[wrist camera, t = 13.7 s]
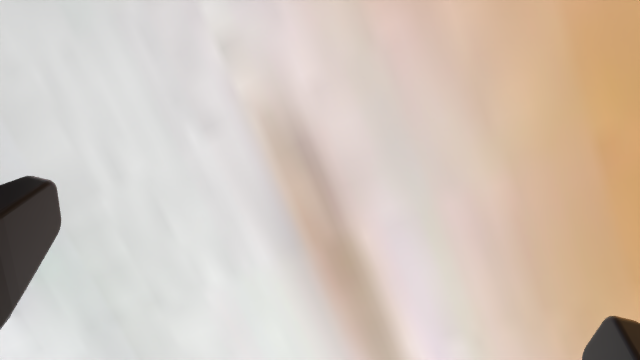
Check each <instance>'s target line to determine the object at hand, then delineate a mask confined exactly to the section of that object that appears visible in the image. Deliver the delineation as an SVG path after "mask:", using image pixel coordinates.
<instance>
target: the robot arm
mask: <svg viewBox="0 0 640 360" xmlns="http://www.w3.org/2000/svg"><path fill="white" fill-rule="evenodd" d="M60 226H61V214H60V207H59V200H58V193H57V187H56V185H55V183H54V182H52V181H51V180H47V179H43V178H39V177H35V176H25V177H22V178H19V179H16V180H14V181H11V182H8V183H5V184H2V185H0V328H1V327H2V326H3V324H4V323H5V321H6V320H7V319H8V317H9V316H10V314H11V313H12V311H13V310H14V308H15V307H16V305H17V303H18V302H19V300H20V299H21V297H22V295H23V293H24V292H25V290H26V288H27V287H28V285H29V283H30V281H31V280H32V278H33V276H34V274H35V273H36V271H37V269H38V267H39V266H40V264H41V262H42V261H43V259H44V257H45V255H46V254H47V252H48V250H49V248H50V247H51V245H52V243H53V242H54V240H55V238H56V236H57V234H58V232H59V230H60ZM582 360H640V323H638V322H636V321H634V320H630V319H625V318H621V317H617V316H609V317H607V318H606V319H605V320H604V321H603V322H602V324H601V325H600V327H599V328H598V330H597V331H596V333H595V334H594V335H593V337H592V338H591V340H590V341H589V343H588V344H587V346H586V347H585V350H584V352H583V356H582Z"/></svg>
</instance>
